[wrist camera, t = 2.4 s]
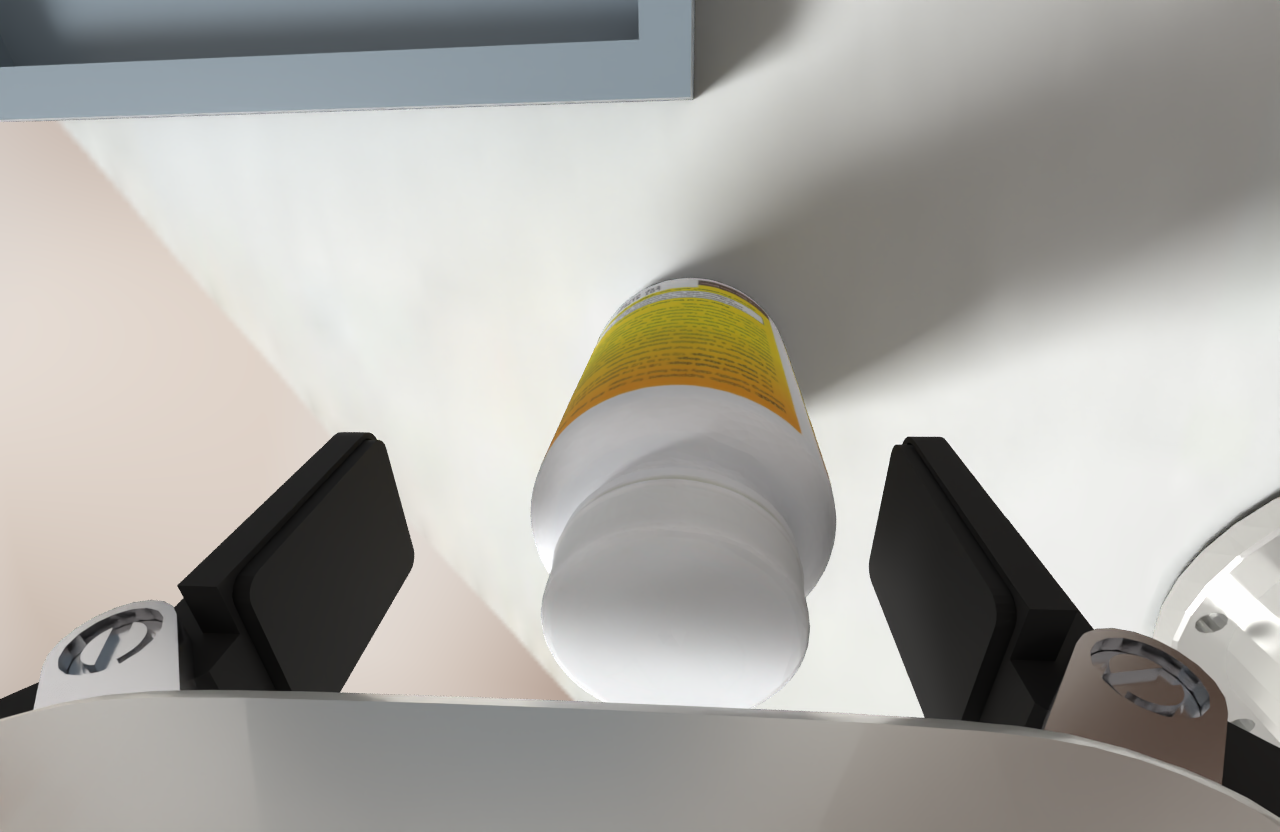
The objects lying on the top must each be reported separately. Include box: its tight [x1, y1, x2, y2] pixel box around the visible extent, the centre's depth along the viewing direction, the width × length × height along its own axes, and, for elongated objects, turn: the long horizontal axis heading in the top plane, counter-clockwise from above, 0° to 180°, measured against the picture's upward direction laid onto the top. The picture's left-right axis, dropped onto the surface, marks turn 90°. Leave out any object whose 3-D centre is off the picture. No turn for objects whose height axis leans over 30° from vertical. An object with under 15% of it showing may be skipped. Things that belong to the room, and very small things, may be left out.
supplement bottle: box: [531, 278, 836, 709], centre depth 13 cm, size 6×6×10 cm
